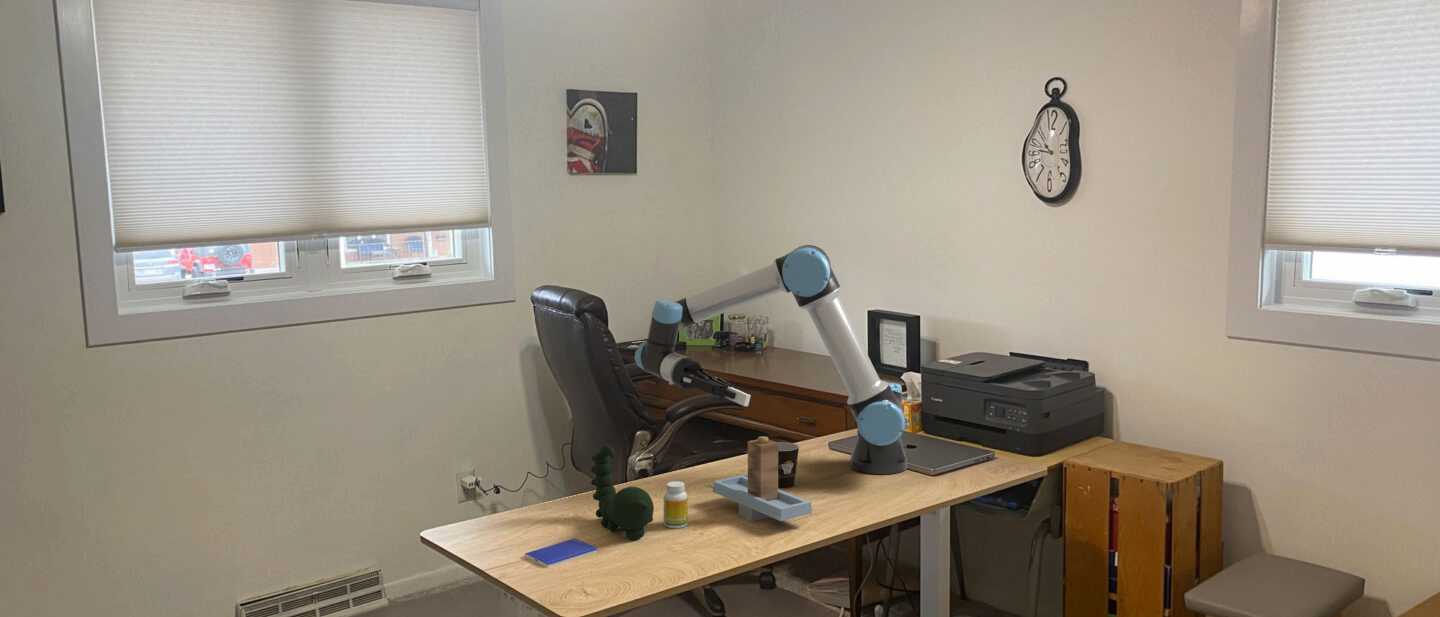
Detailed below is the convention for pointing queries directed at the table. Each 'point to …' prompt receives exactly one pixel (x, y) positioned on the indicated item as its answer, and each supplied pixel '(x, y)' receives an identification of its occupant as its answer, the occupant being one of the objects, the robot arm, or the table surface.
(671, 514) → the supplement bottle
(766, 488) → the brown block with knob
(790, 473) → the coffee mug
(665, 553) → the table surface
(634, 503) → the toy figurine
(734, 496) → the beam
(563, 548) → the hard drive
